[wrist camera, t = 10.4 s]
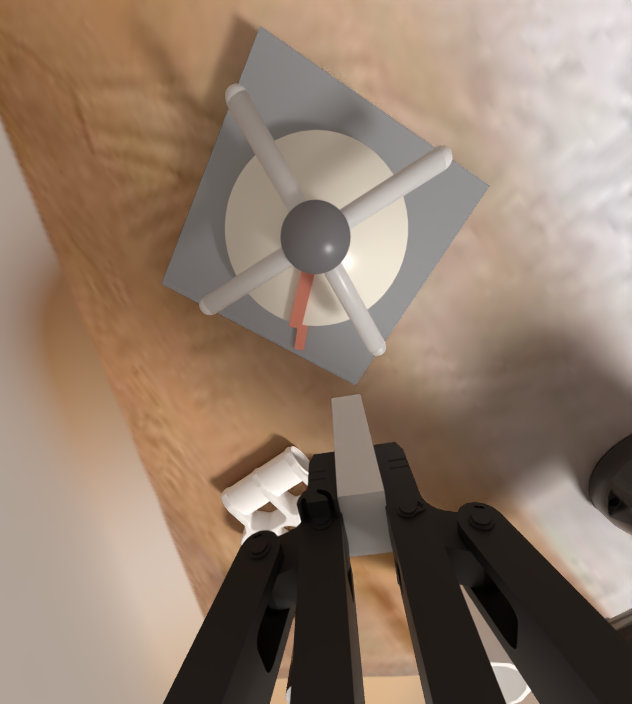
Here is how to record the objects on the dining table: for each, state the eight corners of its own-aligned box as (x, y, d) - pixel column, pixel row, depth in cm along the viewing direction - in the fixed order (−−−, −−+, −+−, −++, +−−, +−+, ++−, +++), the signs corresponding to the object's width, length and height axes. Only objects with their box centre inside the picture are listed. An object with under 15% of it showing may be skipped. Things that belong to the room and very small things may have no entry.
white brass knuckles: (311, 426, 39) (379, 499, 43) (207, 495, 43) (278, 556, 47) (311, 443, 36) (383, 520, 39) (198, 516, 40) (275, 580, 44)
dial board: (478, 188, 29) (492, 185, 27) (353, 377, 36) (355, 387, 34) (264, 41, 26) (259, 22, 23) (170, 281, 32) (159, 284, 30)
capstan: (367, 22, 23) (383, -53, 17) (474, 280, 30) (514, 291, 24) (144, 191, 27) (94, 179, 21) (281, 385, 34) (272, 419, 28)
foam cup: (407, 589, 48) (437, 709, 36) (417, 545, 45) (454, 660, 33) (469, 592, 48) (519, 713, 36) (483, 548, 45) (544, 665, 33)
